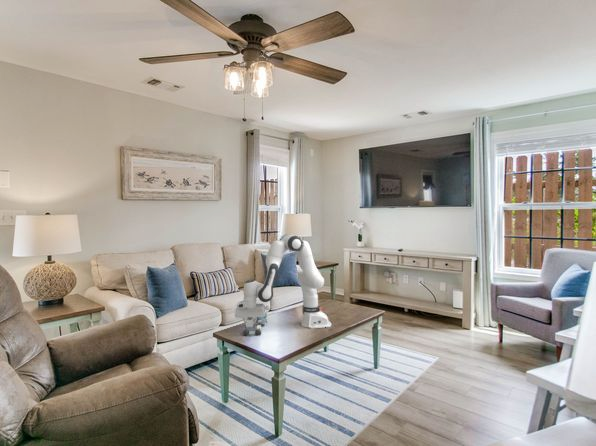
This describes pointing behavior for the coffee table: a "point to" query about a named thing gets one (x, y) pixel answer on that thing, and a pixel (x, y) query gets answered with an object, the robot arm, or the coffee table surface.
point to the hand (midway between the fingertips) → (249, 323)
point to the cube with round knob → (249, 323)
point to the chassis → (252, 330)
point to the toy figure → (262, 318)
